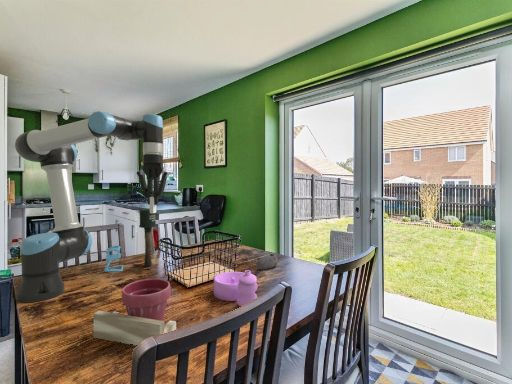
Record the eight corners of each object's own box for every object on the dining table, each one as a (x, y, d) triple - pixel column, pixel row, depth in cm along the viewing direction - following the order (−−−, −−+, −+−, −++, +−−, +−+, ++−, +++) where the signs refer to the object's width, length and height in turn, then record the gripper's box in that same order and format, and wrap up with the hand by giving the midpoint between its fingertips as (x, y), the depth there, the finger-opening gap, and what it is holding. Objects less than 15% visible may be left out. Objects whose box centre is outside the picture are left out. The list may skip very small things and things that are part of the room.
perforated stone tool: (260, 272, 141) (260, 258, 140) (253, 269, 145) (253, 256, 144) (280, 266, 151) (281, 253, 150) (273, 264, 155) (274, 251, 154)
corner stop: (114, 323, 89) (114, 302, 89) (176, 334, 83) (176, 311, 83) (93, 337, 81) (93, 313, 81) (160, 350, 76) (160, 324, 75)
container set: (208, 289, 118) (209, 258, 117) (241, 283, 125) (242, 254, 124) (232, 315, 96) (232, 277, 95) (270, 306, 103) (271, 271, 102)
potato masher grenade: (150, 269, 143) (150, 210, 142) (135, 267, 145) (135, 210, 144) (159, 264, 151) (159, 209, 150) (145, 263, 153) (145, 208, 152)
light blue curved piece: (105, 268, 143) (104, 245, 143) (123, 266, 147) (122, 243, 146) (103, 273, 136) (103, 248, 136) (122, 271, 140) (122, 247, 139)
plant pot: (115, 325, 88) (115, 285, 88) (158, 311, 98) (158, 275, 97) (132, 344, 78) (131, 299, 77) (178, 327, 87) (178, 286, 87)
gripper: (172, 155, 116) (172, 212, 117) (142, 155, 117) (142, 211, 118) (164, 153, 108) (164, 214, 109) (132, 153, 109) (132, 213, 110)
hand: (153, 212), depth 113 cm, fingers closed
